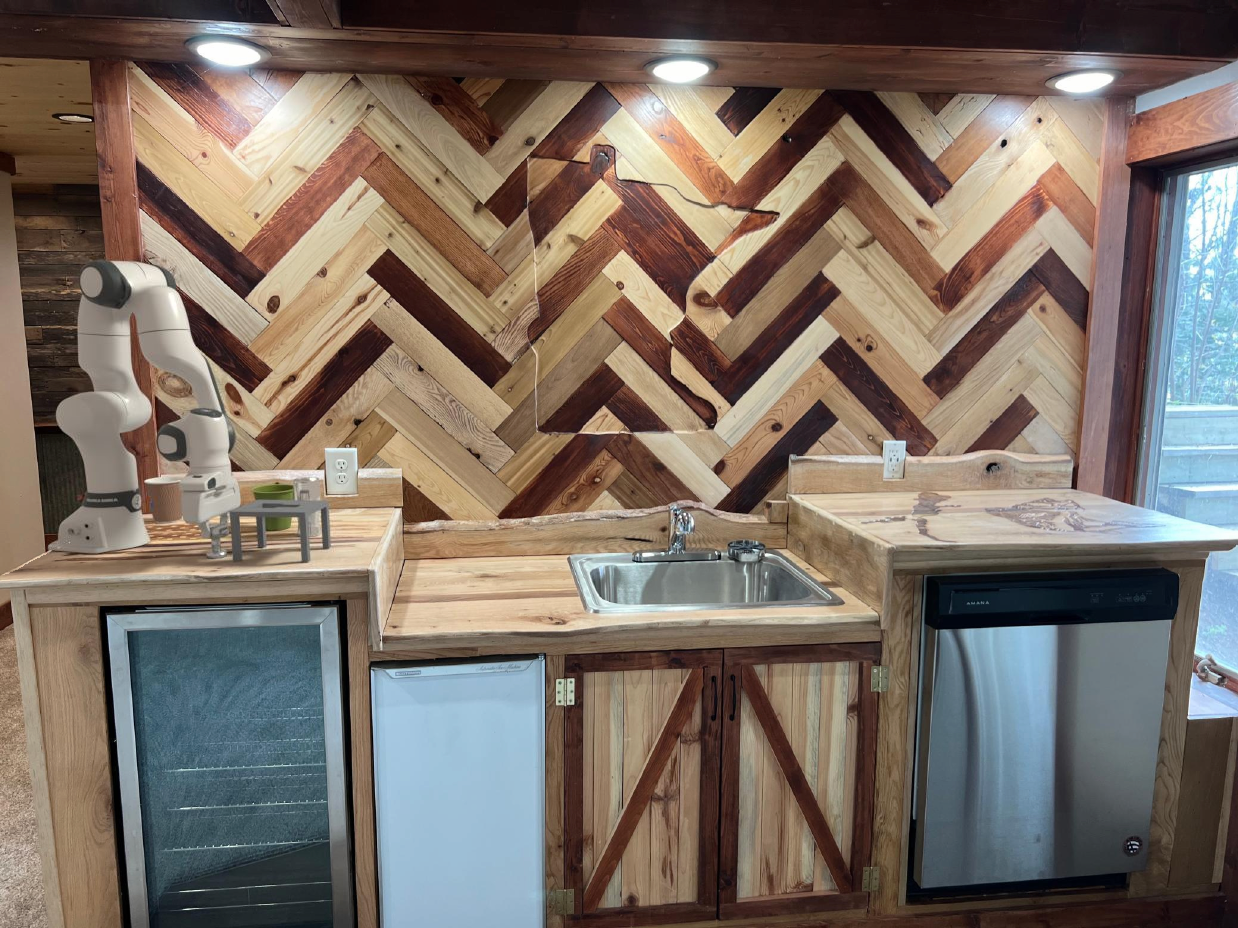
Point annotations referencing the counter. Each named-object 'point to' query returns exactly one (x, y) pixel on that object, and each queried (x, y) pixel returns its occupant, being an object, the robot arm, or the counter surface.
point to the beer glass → (308, 491)
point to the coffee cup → (165, 498)
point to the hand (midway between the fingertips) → (215, 534)
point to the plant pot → (275, 494)
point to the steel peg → (217, 540)
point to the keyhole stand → (280, 509)
